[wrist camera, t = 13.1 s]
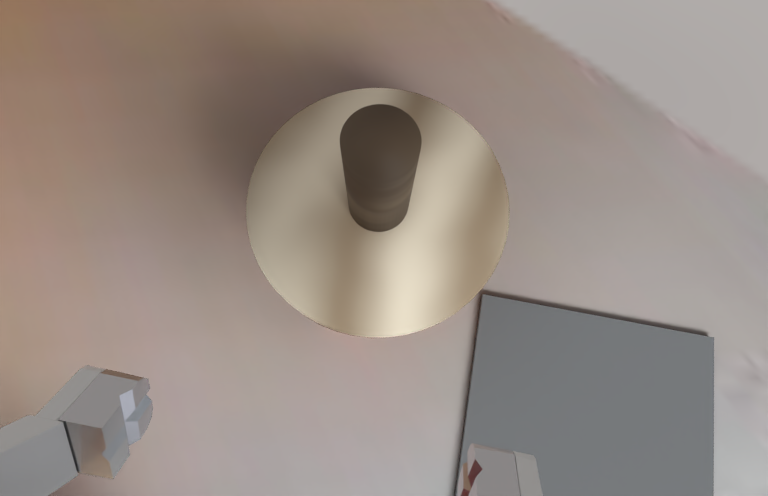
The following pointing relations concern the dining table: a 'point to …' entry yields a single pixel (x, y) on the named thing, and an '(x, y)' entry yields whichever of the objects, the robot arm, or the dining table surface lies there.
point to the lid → (377, 212)
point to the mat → (593, 400)
